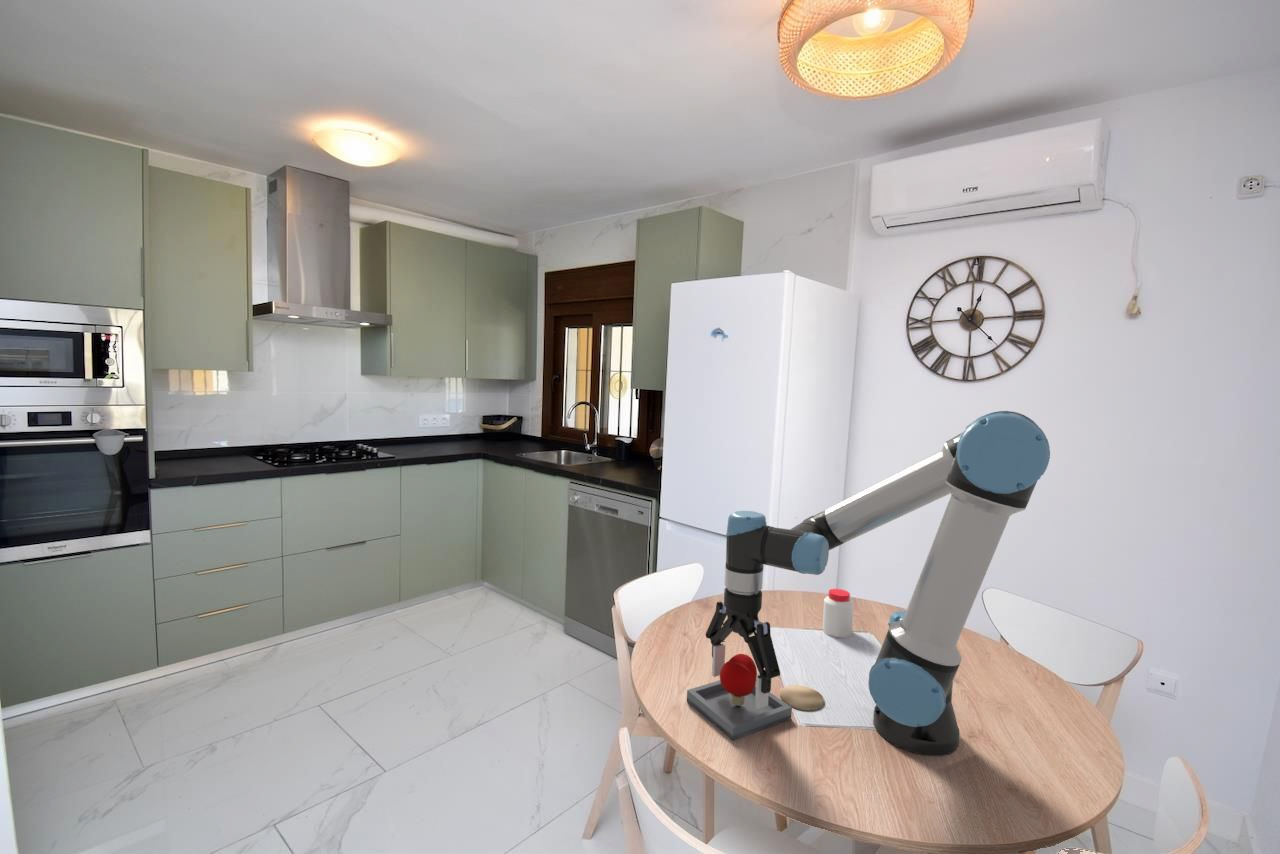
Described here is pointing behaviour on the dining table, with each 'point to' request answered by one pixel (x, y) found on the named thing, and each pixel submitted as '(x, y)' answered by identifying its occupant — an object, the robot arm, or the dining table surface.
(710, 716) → the socket dish
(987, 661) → the dining table surface
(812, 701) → the cork coaster
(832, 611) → the pill bottle
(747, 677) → the red rounded piece
